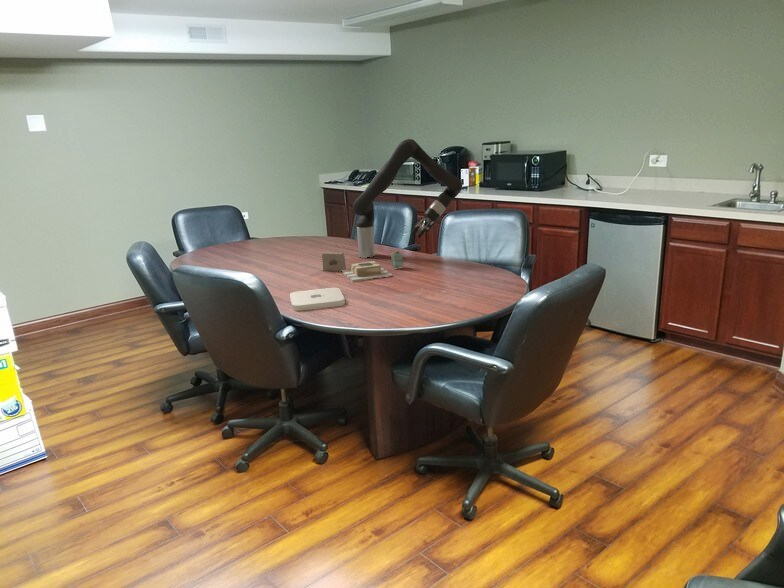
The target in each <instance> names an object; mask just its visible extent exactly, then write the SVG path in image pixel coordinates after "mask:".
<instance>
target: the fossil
mask: <svg viewBox="0 0 784 588" xmlns="http://www.w3.org/2000/svg"><path fill="white" fill-rule="evenodd" d="M321 259H322V261H321V262H322V271H323V272H324V271H325V272H338V271H341V270H347V265H346V257H345V254H344V252H331V251H329V252H328V251H323V252H322V253H321Z"/></svg>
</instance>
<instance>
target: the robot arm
mask: <svg viewBox="0 0 784 588" xmlns="http://www.w3.org/2000/svg"><path fill="white" fill-rule="evenodd" d="M410 158H412V159H414V160H415V161H417V162H418V163H419V164H420V165H421V166H422V167H423V168H424V170H425V171H426V172H427V173H428V175H429V176H431V177H432V178H433V179H434V180H436V181H437V182H439V184H443V185H445V187H446V188H445V189H444V190H443V191H442V192H441V193H440V194H439V195H438V196H437V197H436V199H435V200H434V201H432V203H431V204H430V205H429V206H428V208H427V209H425V211H424V213H423V214H424V217H423V216H421V217H420V218H419V219H418V220H417V221H416V222H415V224H414V225H413V226H414V228H413V229H412V230H411V231H410V234H411V235H412V236H415V235H416V237H417V238H419V239H420V238H422V236H423V235H424V234H425V233H428V232H429V231H430V230H431V228H432V227H433V226H434V225H435V223H436V222H437V221H438V220H439V218H440V217H441V216H442V215H443V213H444V212H445V211H446V210H447V208H448V207H449V206H450V204H451V203H452V201H454V199H456V197H457V196H458V195H459V194H460V193H461V191H462V188H463V182H462V181H461V179H460V178H458V177H457V176H456V175H454V174H452V173H450V172H449V171H448V170H446V168H444V167H443V166H442V165H440V164H439V163H438V162H437V161H435V160H434V159H433V158H432V157H431V156H430V155H429V154H428V153H427V152H426V151H425V150H424V149H423V148H422V147H421V146H420V145H419V143H418V142H416V140H414V139H412V138H406V139H404V140H401V141H400V142H399V143H398V144H397V146H396V148H395V149H394V151H393V153H392V155H391V156H390V157H389V158H388V160H387V161H386V162H385V163H384V165H382V167H381V168H380V169H379V171H378V172H377V173H375V176H374V177H373V179H372V180H371V181H370V182H369V184H368V185H367V186H366V188H365V190H363V192H362V193H361V194H360V195H359V196H358V197H357V198H356V199H355V200H354V201H353V203H352V211H353V213H354V214H355V215H358V219H357V221H356V235H357V249H358V250H357V251H358V258H360V257H361V259H368V258H367V257H370V258H373V256H374V257H376V253H375V235H374V221H375V206H374V200H375V199H376V198H378V197H379V196H380V195H382V194H383V193H384V192H385V191H386V190H387V189H388V188H389V187H390V186H391V185H392V183H393V182H394V181H395V179H396V177H397V175H398V173H399V170H400V169H401V168H402V166H403V165H404V164H405V163H406V162H407V161H408V160H409V159H410ZM418 231H419V232H418ZM416 233H417V234H416Z"/></svg>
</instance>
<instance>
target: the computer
mask: <svg viewBox="0 0 784 588" xmlns="http://www.w3.org/2000/svg"><path fill="white" fill-rule="evenodd" d="M289 299H290V305H291V309H292V311H295V312H296V311H298V312H299V311H309V310H318V309H326V308H327V309H328V308H336V307H342V306H344V305H345V304H346V301H345V300H346V299H345V296H344V294H343V293H342V291H341V289H340V288H339V287H326V288H317V289H309V290H299V291H292V292H290V293H289Z"/></svg>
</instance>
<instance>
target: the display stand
mask: <svg viewBox="0 0 784 588" xmlns="http://www.w3.org/2000/svg"><path fill="white" fill-rule="evenodd" d="M350 267H351V268H350V269H349V268H348V269H346V270H341V271H342V272H341V273H342V274H343V275H344V277H346V278H347V279H348V280H350V282H352V283H355V282H356V281H357V282H362V281H361V280H364V281H368V280H367V279H371V280H374V279H373V278H379V277H385V276H391V275H392V276H393V274H392V273H390V272H389V271H388V270H386V269H384V268H383V267H381V264H379V263H378V262H377V261H374V260H369V261H362V262H354V263H350ZM379 279H380V278H379Z"/></svg>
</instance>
